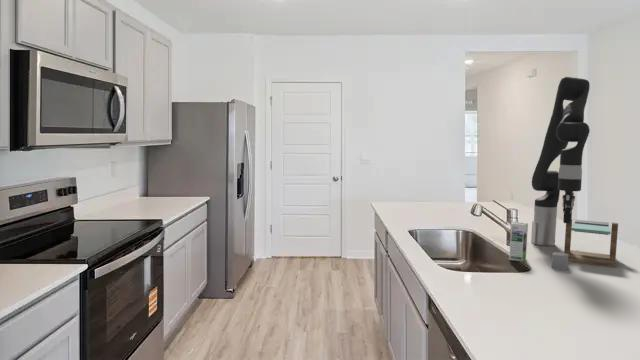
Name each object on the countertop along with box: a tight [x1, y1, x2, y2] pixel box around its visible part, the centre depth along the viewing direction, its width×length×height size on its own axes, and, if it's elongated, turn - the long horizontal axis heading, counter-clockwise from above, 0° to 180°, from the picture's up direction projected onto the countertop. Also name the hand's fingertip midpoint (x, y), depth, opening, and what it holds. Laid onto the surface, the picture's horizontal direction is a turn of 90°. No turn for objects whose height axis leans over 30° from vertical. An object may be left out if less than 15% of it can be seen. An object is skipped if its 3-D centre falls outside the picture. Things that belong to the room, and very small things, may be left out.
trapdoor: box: [571, 219, 612, 236], centre depth 188 cm, size 20×13×4 cm, turn 149°
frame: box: [563, 218, 619, 269], centre depth 187 cm, size 19×18×14 cm
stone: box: [551, 251, 569, 271], centre depth 174 cm, size 5×5×5 cm
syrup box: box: [508, 221, 529, 262], centre depth 184 cm, size 6×6×14 cm
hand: (567, 221), depth 173 cm, fingers open, 8 cm apart
